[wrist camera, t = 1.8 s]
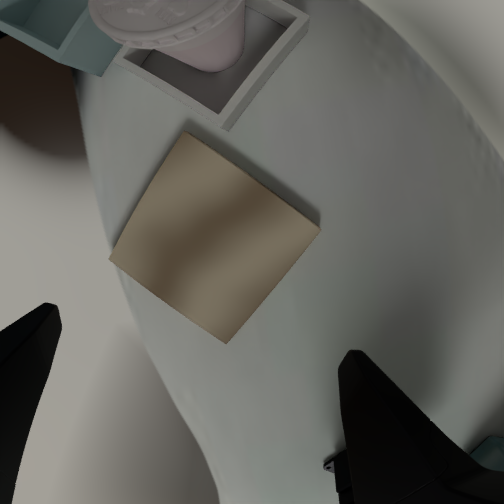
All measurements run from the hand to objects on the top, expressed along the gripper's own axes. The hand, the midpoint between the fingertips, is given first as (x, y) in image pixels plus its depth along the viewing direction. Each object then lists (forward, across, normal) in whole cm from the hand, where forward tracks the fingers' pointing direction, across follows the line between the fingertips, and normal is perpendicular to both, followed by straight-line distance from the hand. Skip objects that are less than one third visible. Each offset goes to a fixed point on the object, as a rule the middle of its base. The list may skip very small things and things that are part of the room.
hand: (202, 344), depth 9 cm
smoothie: (+15, +2, -9) cm, 17 cm away
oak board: (+12, 0, +3) cm, 12 cm away
